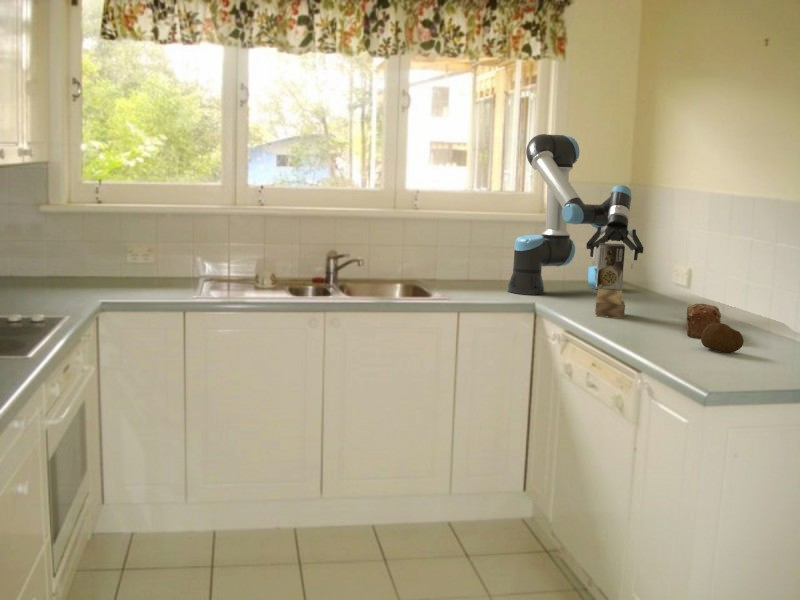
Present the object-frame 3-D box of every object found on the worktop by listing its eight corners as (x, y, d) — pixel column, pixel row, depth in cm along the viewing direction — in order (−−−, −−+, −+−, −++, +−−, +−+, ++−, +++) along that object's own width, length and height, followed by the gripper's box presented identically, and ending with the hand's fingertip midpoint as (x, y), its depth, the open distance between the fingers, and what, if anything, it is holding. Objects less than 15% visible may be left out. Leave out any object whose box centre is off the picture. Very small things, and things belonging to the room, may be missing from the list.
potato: (731, 357, 264) (735, 328, 262) (693, 349, 272) (697, 321, 270) (743, 353, 270) (747, 325, 268) (706, 346, 278) (709, 318, 276)
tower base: (595, 316, 321) (596, 303, 320) (595, 312, 331) (596, 298, 330) (623, 319, 319) (625, 305, 318) (622, 314, 329) (623, 301, 328)
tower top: (596, 302, 321) (597, 289, 320) (596, 299, 329) (598, 285, 328) (620, 304, 319) (622, 291, 318) (620, 301, 327) (621, 287, 327)
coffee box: (620, 287, 326) (624, 243, 323) (621, 290, 320) (625, 245, 317) (595, 285, 327) (598, 242, 324) (596, 288, 321) (599, 244, 318)
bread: (718, 341, 288) (722, 310, 286) (684, 337, 291) (687, 307, 289) (717, 330, 305) (720, 302, 304) (684, 327, 308) (687, 299, 307)
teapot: (629, 290, 387) (631, 265, 385) (607, 294, 374) (610, 267, 372) (597, 285, 398) (599, 260, 396) (575, 288, 385) (577, 262, 383)
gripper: (584, 211, 332) (577, 255, 320) (653, 215, 325) (649, 260, 313) (584, 224, 337) (577, 268, 326) (651, 229, 331) (647, 274, 319)
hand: (612, 264), depth 319 cm, fingers open, 13 cm apart
